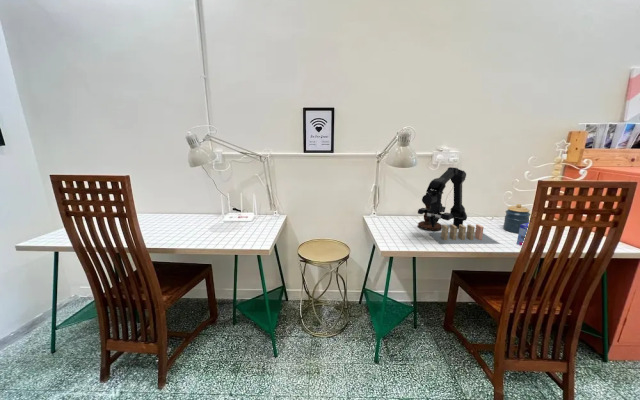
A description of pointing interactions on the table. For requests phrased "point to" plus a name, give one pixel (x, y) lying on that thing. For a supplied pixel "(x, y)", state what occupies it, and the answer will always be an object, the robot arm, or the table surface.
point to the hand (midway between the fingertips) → (433, 227)
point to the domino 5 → (479, 232)
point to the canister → (515, 218)
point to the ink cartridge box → (522, 233)
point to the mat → (467, 241)
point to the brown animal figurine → (428, 222)
